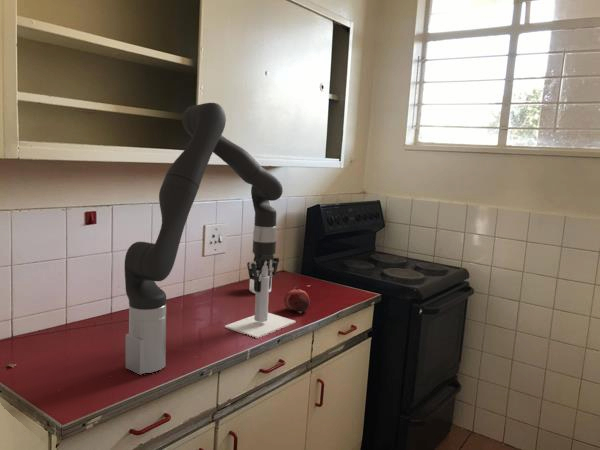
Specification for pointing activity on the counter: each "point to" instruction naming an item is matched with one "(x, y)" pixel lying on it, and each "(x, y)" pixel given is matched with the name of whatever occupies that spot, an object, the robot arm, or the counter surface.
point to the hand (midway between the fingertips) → (262, 289)
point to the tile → (260, 325)
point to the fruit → (297, 300)
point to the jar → (253, 285)
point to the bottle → (262, 298)
